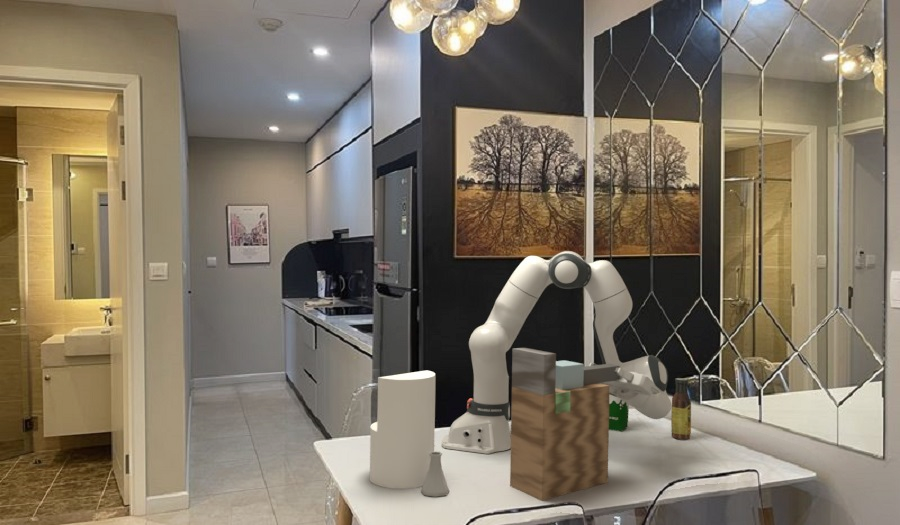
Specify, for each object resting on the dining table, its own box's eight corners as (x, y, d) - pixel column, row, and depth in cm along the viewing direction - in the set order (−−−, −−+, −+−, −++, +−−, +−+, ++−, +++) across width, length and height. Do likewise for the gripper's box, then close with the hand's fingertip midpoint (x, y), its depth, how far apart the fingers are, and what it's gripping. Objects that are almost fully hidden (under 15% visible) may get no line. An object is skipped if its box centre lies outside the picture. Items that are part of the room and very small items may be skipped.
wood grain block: (542, 500, 159) (545, 354, 159) (509, 485, 170) (511, 348, 169) (608, 482, 173) (611, 348, 173) (574, 469, 183) (576, 342, 183)
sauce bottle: (692, 441, 215) (693, 381, 215) (672, 439, 216) (673, 380, 216) (689, 435, 221) (690, 377, 221) (669, 434, 222) (670, 376, 222)
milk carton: (598, 428, 229) (599, 372, 228) (607, 423, 236) (608, 368, 236) (623, 432, 224) (624, 374, 224) (631, 427, 232) (632, 371, 231)
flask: (448, 487, 168) (449, 448, 168) (449, 497, 161) (450, 457, 160) (420, 487, 168) (421, 448, 167) (420, 497, 160) (421, 457, 160)
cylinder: (446, 478, 175) (448, 374, 174) (397, 493, 163) (399, 382, 162) (405, 462, 187) (407, 366, 187) (356, 476, 175) (358, 372, 175)
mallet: (561, 389, 166) (562, 366, 166) (542, 385, 172) (543, 362, 172) (623, 380, 180) (624, 359, 180) (604, 376, 186) (604, 356, 186)
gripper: (658, 404, 178) (630, 384, 171) (601, 392, 194) (573, 372, 188) (666, 383, 180) (638, 362, 173) (608, 372, 196) (581, 352, 189)
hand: (604, 367), depth 180 cm, fingers open, 8 cm apart
